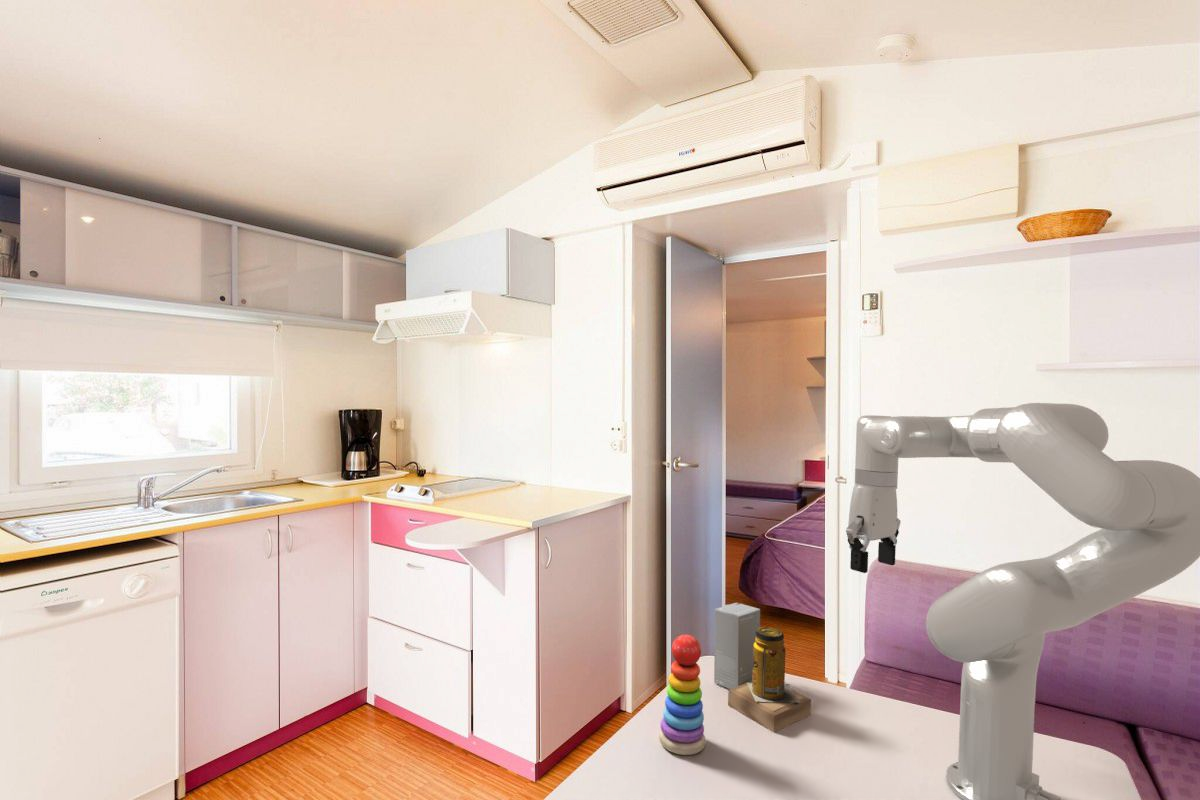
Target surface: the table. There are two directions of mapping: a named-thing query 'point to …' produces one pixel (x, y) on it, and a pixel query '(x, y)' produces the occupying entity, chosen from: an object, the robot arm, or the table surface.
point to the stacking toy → (684, 701)
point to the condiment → (770, 668)
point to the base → (768, 708)
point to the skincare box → (735, 644)
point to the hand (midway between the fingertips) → (872, 567)
